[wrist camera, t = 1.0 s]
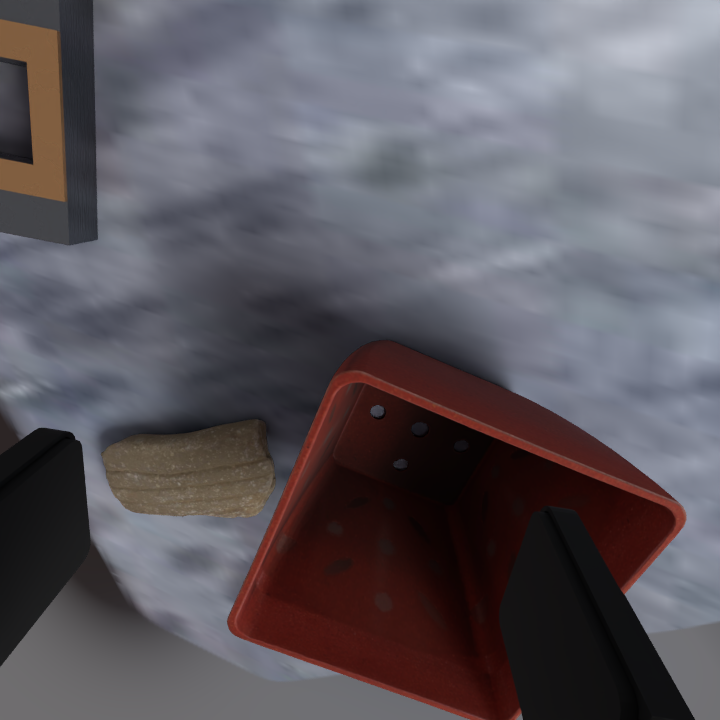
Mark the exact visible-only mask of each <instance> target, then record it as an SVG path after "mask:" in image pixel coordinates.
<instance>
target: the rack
mask: <svg viewBox="0 0 720 720" xmlns="http://www.w3.org/2000/svg"><path fill="white" fill-rule="evenodd" d="M0 62H5V63H10V64H15V65H20V66H25V67H27V75H28V90H29V105H30V120H31V135H32V150H33V159H29V158H24V157H19V156H14V155H9V154H4V153H0V232H3V233H8V234H13V235H18V236H23V237H28V238H34V239H39V240H44V241H49V242H54V243H59V244H65V245H74V244H79V243H83V242H88V241H93V240H98V235H97V187H96V139H95V92H94V44H93V0H0Z"/></svg>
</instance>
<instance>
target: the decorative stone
mask: <svg viewBox="0 0 720 720" xmlns="http://www.w3.org/2000/svg"><path fill="white" fill-rule="evenodd" d="M101 456H102V458H103V462H104V466H105V468H106V476H107V480H108V482H109V486H110V488H111V490H112V492H113V494H114V496H115V497H116V498H117V499H118V500H119V501H120V502H121V504H122V505H123V506H124V507H125V508H126V509H128V510H130V511H132V512H135V513H144V514H156V515H170V516H186V515H208V516H216V517H226V518H235V517H237V516H239V517H245V518H247V517H251V516H255V515H257V514H258V513H259V512H261V511H262V509H263V507H264V505H265V503H266V501H267V500H268V498H269V495H270V494H271V493H272V492H273V490H274V487H275V481H276V478H275V473H274V463H273V460H272V458H271V456H270V453H269V452H268V446H267V439H266V425H265V422H264V421H262V420H258V419H251V420H245V421H240V422H235V423H229V424H223V425H218V426H214V427H211V428H207V429H203V430H199V431H194V432H190V433H183V434H169V435H157V434H137V435H131V436H129V437H127V438H125V439H123V440H121V441H119V442H117V443H115V444H112V445H110V446H108V447H107V448H106V450H105V451H104V452H102V453H101Z"/></svg>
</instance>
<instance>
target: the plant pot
mask: <svg viewBox="0 0 720 720" xmlns="http://www.w3.org/2000/svg"><path fill="white" fill-rule="evenodd" d="M376 405H380V406H383V407H384V408H385V409H386V415H385V417H384V418H382V419H375V418H373V417H372V416H371V414H370V410H371V408H372V407H373V406H376ZM417 422H423V423H426V424H427V425H428V427H429V432H428V434H427V435H426V436H424V437H416V436H414V435H413V434H412V433H411V427H412V425H413V424H415V423H417ZM461 440H465V441H467V442H468V444H469V447H468V450H467V451H465V452H463V453H458V452H456V451H455V450H454V447H453V445H454V443H455V442H456V441H461ZM398 459H405V460H406V461H407V462H408V464H409V466H408V468H407V469H406V470H404V471H398V470H396V469H395V468H394V466H393V464H394V462H395V461H397V460H398ZM544 506H553V507H559V508H566V509H572V510H574V511H576V512H577V514H578V515H579V517H580V519H581V520H582V522H583V524H584V526H585V528H586V529H587V531H588V533H589V535H590V536H591V538H592V540H593V542H594V544H595V545H596V547H597V549H598V551H599V552H600V554H601V556H602V558H603V560H604V561H605V563H606V565H607V567H608V569H609V570H610V572H611V574H612V576H613V577H614V579H615V581H616V583H617V585H618V586H619V588H620V590H621V591H622V592H623V594H625V593H626V592H627V591H628V590H629V589H630V588H631V586H632V585H633V584H634V583H635V582H636V581H637V580H638V578H639V577H640V576H641V575H642V574H643V573H644V572H645V571H646V569H647V568H648V567H649V566H650V565H651V564H652V563H653V561H654V560H655V559H656V558H657V557H658V556H659V555H660V554H661V552H662V551H663V550H664V549H665V548H666V547H667V546H668V544H669V543H670V542H671V541H672V540H673V539H674V538H675V537H676V535H677V534H678V533H679V532H680V530H681V529H682V528H683V526H684V525H685V522H686V512H685V510H684V508H683V506H682V505H681V504H680V503H679V502H677V501H676V500H675V499H674V498H673V497H672V496H671V495H670V494H668V493H667V492H666V491H665V490H664V489H662V488H661V487H660V486H659V485H658V484H657V483H655V482H654V481H653V480H651V479H650V478H649V477H648V476H646V475H645V474H644V473H642V472H641V471H640V470H639V469H637V468H636V467H635V466H633V465H632V464H631V463H630V462H628V461H627V460H626V459H624V458H623V457H621V456H620V455H619V454H617V453H616V452H615V451H613V450H612V449H610V448H609V447H608V446H606V445H605V444H603V443H602V442H600V441H599V440H597V439H596V438H594V437H593V436H591V435H590V434H588V433H587V432H585V431H583V430H582V429H580V428H579V427H577V426H576V425H574V424H572V423H571V422H569V421H567V420H566V419H564V418H562V417H560V416H559V415H557V414H555V413H553V412H552V411H550V410H548V409H546V408H544V407H542V406H540V405H539V404H537V403H535V402H533V401H531V400H529V399H527V398H524V397H522V396H520V395H518V394H516V393H513V392H511V391H509V390H506V389H504V388H502V387H499V386H497V385H495V384H492V383H490V382H488V381H485V380H483V379H481V378H478V377H476V376H473V375H471V374H469V373H466V372H464V371H462V370H459V369H457V368H454V367H452V366H450V365H447V364H445V363H443V362H440V361H438V360H436V359H433V358H431V357H429V356H426V355H424V354H422V353H419V352H417V351H415V350H412V349H410V348H407V347H405V346H403V345H400V344H398V343H396V342H393V341H390V340H379V341H374V342H371V343H368V344H366V345H364V346H362V347H360V348H359V349H357V350H356V351H354V352H353V353H352V354H351V355H350V356H349V357H348V358H347V359H346V360H345V361H344V362H343V363H342V365H341V366H340V367H339V369H338V370H337V371H336V373H335V374H334V376H333V378H332V380H331V381H330V383H329V386H328V388H327V390H326V393H325V395H324V397H323V399H322V402H321V404H320V406H319V409H318V411H317V413H316V416H315V418H314V420H313V423H312V425H311V427H310V430H309V432H308V435H307V437H306V439H305V442H304V444H303V446H302V449H301V451H300V453H299V456H298V458H297V460H296V463H295V465H294V467H293V470H292V472H291V475H290V477H289V479H288V482H287V484H286V486H285V489H284V491H283V494H282V496H281V498H280V501H279V503H278V505H277V508H276V510H275V512H274V515H273V517H272V519H271V522H270V524H269V526H268V528H267V531H266V533H265V535H264V538H263V540H262V542H261V545H260V547H259V549H258V551H257V554H256V556H255V558H254V561H253V563H252V565H251V567H250V570H249V572H248V574H247V576H246V578H245V581H244V583H243V585H242V587H241V590H240V592H239V594H238V596H237V598H236V601H235V603H234V605H233V607H232V610H231V612H230V614H229V616H228V619H227V624H228V628H229V630H230V631H231V632H232V634H233V635H235V636H237V637H239V638H241V639H244V640H247V641H250V642H252V643H255V644H258V645H260V646H263V647H266V648H269V649H272V650H275V651H278V652H281V653H283V654H286V655H289V656H292V657H294V658H297V659H300V660H303V661H306V662H309V663H311V664H314V665H317V666H320V667H323V668H326V669H329V670H332V671H335V672H337V673H340V674H343V675H346V676H349V677H352V678H354V679H357V680H360V681H363V682H366V683H369V684H371V685H375V686H377V687H380V688H383V689H386V690H389V691H391V692H394V693H397V694H400V695H403V696H406V697H408V698H411V699H414V700H417V701H420V702H423V703H426V704H429V705H431V706H434V707H437V708H440V709H442V710H445V711H448V712H450V713H453V714H456V715H459V716H462V717H464V718H467V719H470V720H516V719H517V718H518V717H519V715H520V714H521V709H520V705H519V701H518V697H517V693H516V689H515V685H514V681H513V677H512V673H511V669H510V664H509V660H508V656H507V652H506V648H505V644H504V640H503V636H502V632H501V628H500V623H499V609H500V604H501V602H502V599H503V596H504V593H505V590H506V587H507V584H508V581H509V578H510V576H511V573H512V570H513V567H514V564H515V561H516V558H517V555H518V552H519V550H520V547H521V544H522V541H523V538H524V535H525V532H526V529H527V527H528V524H529V521H530V518H531V516H532V514H533V512H535V511H538V512H540V511H541V509H542V508H543V507H544Z"/></svg>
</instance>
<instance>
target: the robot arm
mask: <svg viewBox="0 0 720 720" xmlns="http://www.w3.org/2000/svg"><path fill="white" fill-rule="evenodd" d="M89 549H90V530H89V519H88V508H87V497H86V485H85V474H84V463H83V452H82V445H81V443H80V441H78V440H75V436H74V435H73V433H71V432H68V431H61V430H55V429H48V428H38V429H36V430H34V431H33V432H32V433H30V434H29V435H27V436H26V437H25V438H23V439H22V440H21V441H19V442H18V443H16V444H15V445H14V446H13V447H11V448H10V449H8V450H7V451H5V452H4V453H2V454H1V455H0V666H1V665H2V664H3V662H4V661H5V660H6V659H7V658H8V656H9V655H10V654H11V653H12V651H13V650H14V649H15V648H16V646H17V645H18V643H19V642H20V641H21V640H22V639H23V637H24V636H25V635H26V634H27V632H28V631H29V630H30V628H31V627H32V626H33V625H34V623H35V622H36V621H37V620H38V618H39V617H40V616H41V615H42V613H43V612H44V611H45V610H46V608H47V607H48V606H49V605H50V603H51V602H52V600H53V599H54V598H55V597H56V596H57V594H58V593H59V592H60V591H61V589H62V588H63V587H64V585H65V584H66V583H67V582H68V580H69V579H70V578H71V577H72V575H73V574H74V573H75V572H76V570H77V569H78V568H79V567H80V565H81V564H82V563H83V561H84V560H85V558H86V557H87V554H88V552H89ZM499 623H500V628H501V632H502V636H503V640H504V644H505V648H506V652H507V656H508V660H509V664H510V669H511V673H512V677H513V681H514V685H515V689H516V693H517V697H518V701H519V705H520V709H521V713H522V716H523V720H695V719H694V717H693V715H692V713H691V712H690V710H689V708H688V706H687V705H686V703H685V701H684V699H683V698H682V696H681V694H680V692H679V690H678V689H677V687H676V685H675V683H674V682H673V680H672V678H671V676H670V675H669V673H668V671H667V669H666V668H665V666H664V664H663V662H662V660H661V658H660V657H659V655H658V653H657V651H656V650H655V648H654V646H653V644H652V642H651V641H650V639H649V637H648V635H647V634H646V632H645V630H644V628H643V627H642V625H641V623H640V621H639V619H638V618H637V616H636V614H635V612H634V611H633V609H632V607H631V605H630V604H629V602H628V600H627V598H626V596H625V595H624V594H623V592H622V591H621V590H620V588H619V586H618V585H617V583H616V581H615V579H614V577H613V576H612V574H611V572H610V570H609V569H608V567H607V565H606V563H605V561H604V560H603V558H602V556H601V554H600V552H599V551H598V549H597V547H596V545H595V544H594V542H593V540H592V538H591V536H590V535H589V533H588V531H587V529H586V528H585V526H584V524H583V522H582V520H581V519H580V517H579V515H578V514H577V512H576V511H574V510H572V509H566V508H559V507H553V506H544V507H543V508H542V509H541V511H540V512H538V511H535V512H533V514H532V516H531V518H530V521H529V524H528V527H527V529H526V532H525V535H524V538H523V541H522V544H521V547H520V550H519V552H518V555H517V558H516V561H515V564H514V567H513V570H512V573H511V576H510V578H509V581H508V584H507V587H506V590H505V593H504V596H503V599H502V602H501V604H500V609H499Z"/></svg>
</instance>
